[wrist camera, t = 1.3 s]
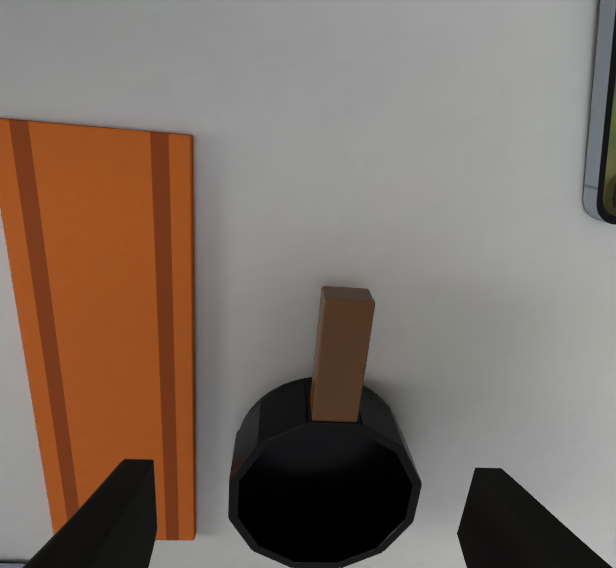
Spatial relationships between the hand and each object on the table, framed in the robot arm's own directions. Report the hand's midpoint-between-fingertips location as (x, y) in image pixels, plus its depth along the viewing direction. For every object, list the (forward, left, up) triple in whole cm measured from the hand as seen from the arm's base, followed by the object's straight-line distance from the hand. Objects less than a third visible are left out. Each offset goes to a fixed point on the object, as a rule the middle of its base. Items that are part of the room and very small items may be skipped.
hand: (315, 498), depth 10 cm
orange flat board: (-3, +8, -10) cm, 13 cm away
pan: (-4, -2, -10) cm, 11 cm away
